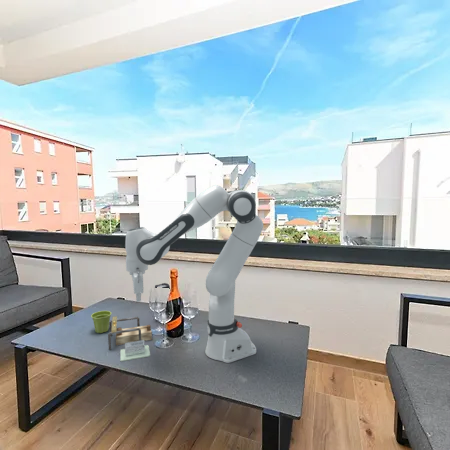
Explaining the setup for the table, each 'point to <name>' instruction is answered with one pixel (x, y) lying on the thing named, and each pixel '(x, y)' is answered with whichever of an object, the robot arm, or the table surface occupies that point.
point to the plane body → (130, 333)
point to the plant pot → (101, 321)
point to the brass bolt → (114, 324)
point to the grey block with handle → (134, 348)
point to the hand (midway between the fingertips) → (138, 297)
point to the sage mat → (123, 358)
